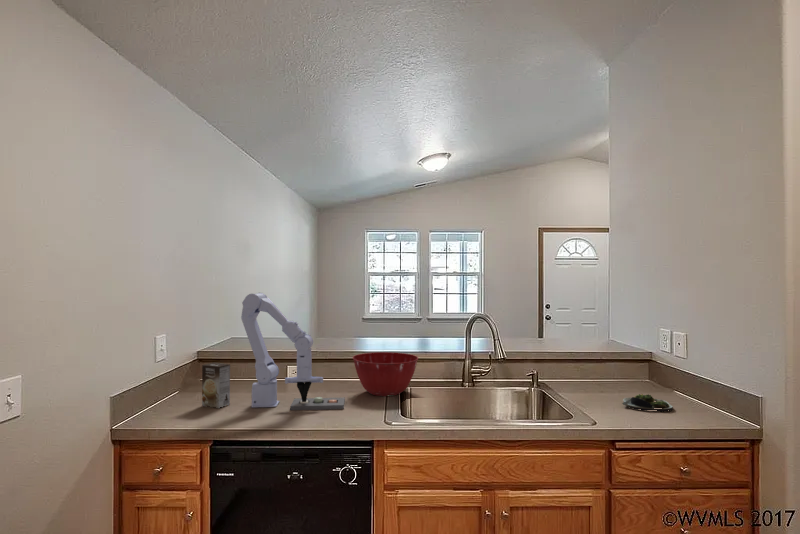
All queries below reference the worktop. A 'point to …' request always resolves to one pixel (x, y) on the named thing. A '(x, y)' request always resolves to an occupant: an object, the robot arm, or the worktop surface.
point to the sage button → (318, 400)
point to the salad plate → (646, 403)
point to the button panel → (317, 404)
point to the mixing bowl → (385, 372)
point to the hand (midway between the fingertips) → (304, 401)
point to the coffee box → (216, 384)
